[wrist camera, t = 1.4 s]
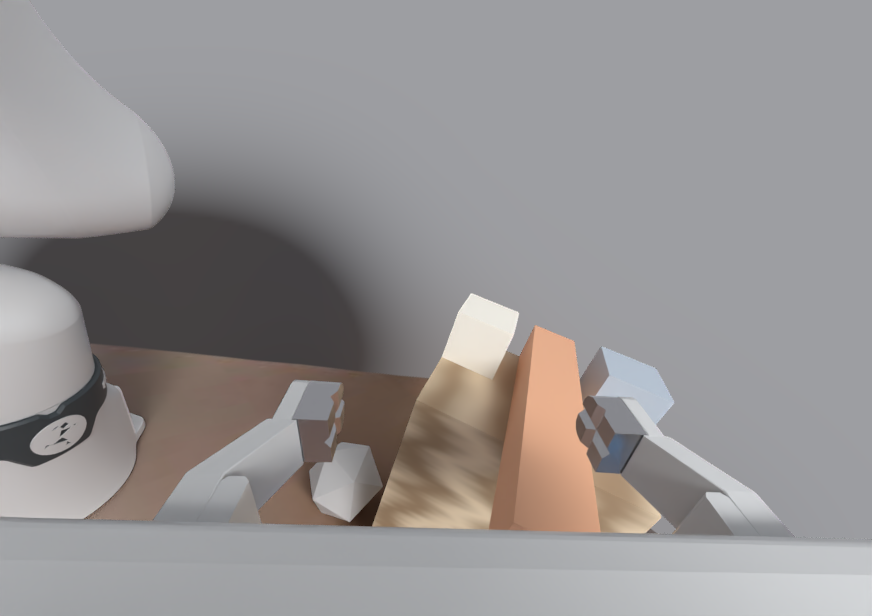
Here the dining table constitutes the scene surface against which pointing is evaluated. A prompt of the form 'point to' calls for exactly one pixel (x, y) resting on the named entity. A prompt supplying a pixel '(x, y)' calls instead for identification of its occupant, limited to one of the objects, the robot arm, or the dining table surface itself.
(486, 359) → the cube cream
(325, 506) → the die
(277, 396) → the dining table surface
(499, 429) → the oak stand
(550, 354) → the bar terracotta
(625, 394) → the cube slate
